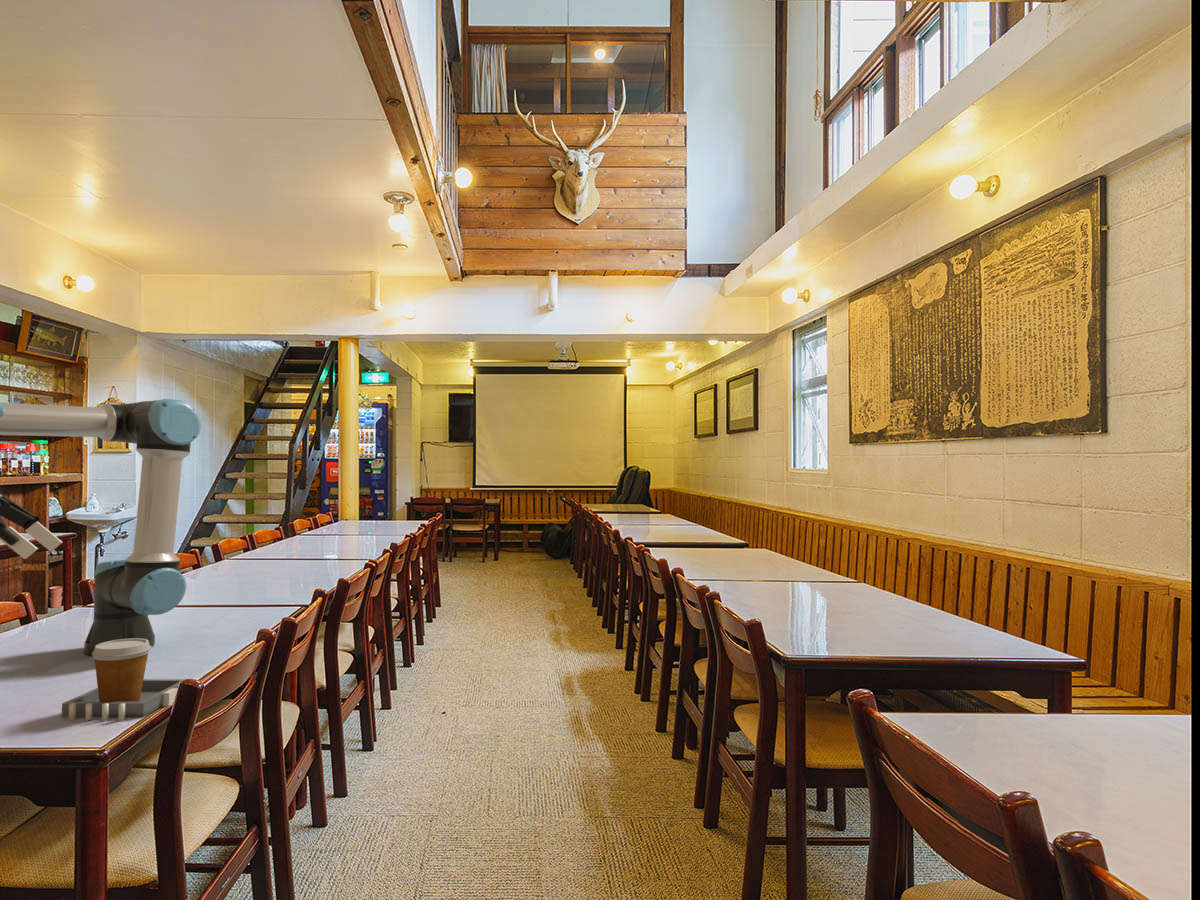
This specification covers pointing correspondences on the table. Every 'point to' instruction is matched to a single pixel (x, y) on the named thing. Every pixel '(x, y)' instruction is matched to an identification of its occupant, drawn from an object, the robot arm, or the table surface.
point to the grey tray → (150, 700)
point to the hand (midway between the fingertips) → (44, 550)
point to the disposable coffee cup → (121, 669)
